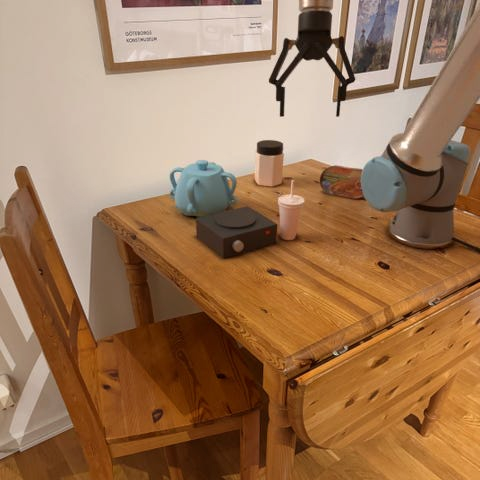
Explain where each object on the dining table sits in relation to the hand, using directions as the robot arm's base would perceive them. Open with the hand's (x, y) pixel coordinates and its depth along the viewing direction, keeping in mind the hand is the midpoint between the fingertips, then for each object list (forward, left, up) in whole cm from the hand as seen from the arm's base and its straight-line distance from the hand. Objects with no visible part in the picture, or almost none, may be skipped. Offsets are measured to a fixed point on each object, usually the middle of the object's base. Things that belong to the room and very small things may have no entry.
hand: (309, 116), depth 109 cm
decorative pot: (+14, +23, -25) cm, 37 cm away
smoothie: (-11, +12, -25) cm, 30 cm away
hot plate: (-6, +25, -25) cm, 35 cm away
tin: (+3, -19, -25) cm, 32 cm away
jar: (+24, -6, -25) cm, 35 cm away
